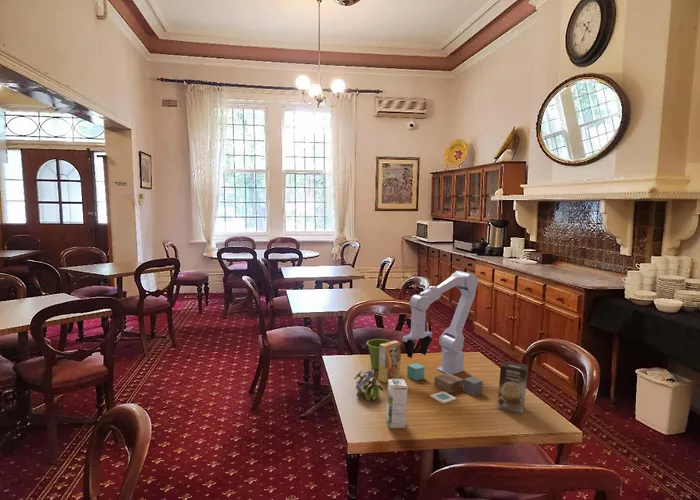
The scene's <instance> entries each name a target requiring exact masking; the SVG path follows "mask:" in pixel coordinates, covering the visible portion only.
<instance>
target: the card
mask: <svg viewBox="0 0 700 500" xmlns="http://www.w3.org/2000/svg"><path fill="white" fill-rule="evenodd" d="M429 397H431V399H434V400H436V401H437V402H439V403H441V404H443V405H444V404H447V403H450V402H453V401H456V400H458V398H457V397H456V396H453V395H451V393H448V392H446V391H444V390H442V391H439V392H436V393H432V394H430V395H429Z"/></svg>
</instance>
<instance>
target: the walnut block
mask: <svg viewBox="0 0 700 500" xmlns="http://www.w3.org/2000/svg"><path fill="white" fill-rule="evenodd" d="M433 382H434V383H433V386H434V387H436V388H437V389H440V390H442V391H444V392H446V393H448V394H451V393H454V392H456V391H460V390H463V388H464V379H463V378H461V377H458V376H457V375H455V374H450V373H443V374H439V375H436V376H434V381H433Z"/></svg>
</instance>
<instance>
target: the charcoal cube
mask: <svg viewBox="0 0 700 500" xmlns="http://www.w3.org/2000/svg"><path fill="white" fill-rule="evenodd" d="M463 380H464V381H463V389H462V390H463V392H464V393H466V394H469V395H471V396H472V397H473V396H477V395H480V394H482V393H483V385H484V384H483V383H484V381H483V380H482V379H480V378H477V377H475V376H470V377H467V378H464V379H463Z"/></svg>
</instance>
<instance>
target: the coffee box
mask: <svg viewBox="0 0 700 500" xmlns="http://www.w3.org/2000/svg"><path fill="white" fill-rule="evenodd" d="M528 366H529V365H528V364H523V363H518V362H513V361H507V360H503V359H502V361H501V364H500V373H499V382H498V392H497V393H498V395H497V404H496V408H498V409H501V410H505V411H510V412H515V413H517V414H518V413H519V414H524V410H525V402H526V401H525V400H526V391H527V390H526V389H527V378H528V369H529V368H528Z"/></svg>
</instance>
